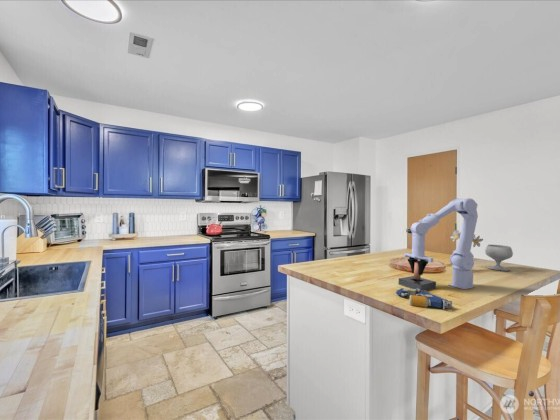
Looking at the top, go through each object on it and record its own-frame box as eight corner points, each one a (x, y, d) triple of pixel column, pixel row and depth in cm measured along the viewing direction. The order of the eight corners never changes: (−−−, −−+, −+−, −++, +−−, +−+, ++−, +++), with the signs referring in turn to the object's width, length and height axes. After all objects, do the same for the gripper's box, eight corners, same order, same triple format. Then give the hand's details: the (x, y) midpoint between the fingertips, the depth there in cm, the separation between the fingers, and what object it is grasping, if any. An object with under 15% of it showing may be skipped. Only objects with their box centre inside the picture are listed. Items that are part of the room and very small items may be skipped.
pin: (416, 277, 140) (417, 262, 139) (421, 279, 137) (422, 263, 137) (412, 278, 138) (412, 262, 138) (417, 279, 135) (418, 263, 135)
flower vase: (473, 275, 161) (475, 232, 161) (443, 268, 178) (444, 229, 177) (486, 273, 167) (488, 232, 166) (456, 266, 184) (457, 229, 183)
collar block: (413, 281, 146) (413, 275, 146) (435, 287, 135) (436, 281, 135) (398, 284, 140) (398, 278, 140) (420, 291, 129) (420, 284, 129)
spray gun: (422, 313, 104) (455, 311, 107) (422, 301, 104) (455, 300, 107) (389, 295, 124) (418, 294, 128) (389, 286, 124) (418, 285, 128)
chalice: (516, 270, 176) (517, 246, 176) (506, 272, 169) (507, 248, 169) (490, 265, 189) (491, 243, 188) (480, 267, 182) (481, 245, 181)
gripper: (400, 245, 141) (399, 271, 142) (427, 249, 129) (426, 278, 129) (409, 244, 145) (408, 269, 145) (436, 248, 132) (435, 276, 133)
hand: (417, 273), depth 137 cm, fingers closed on pin, 3 cm apart
